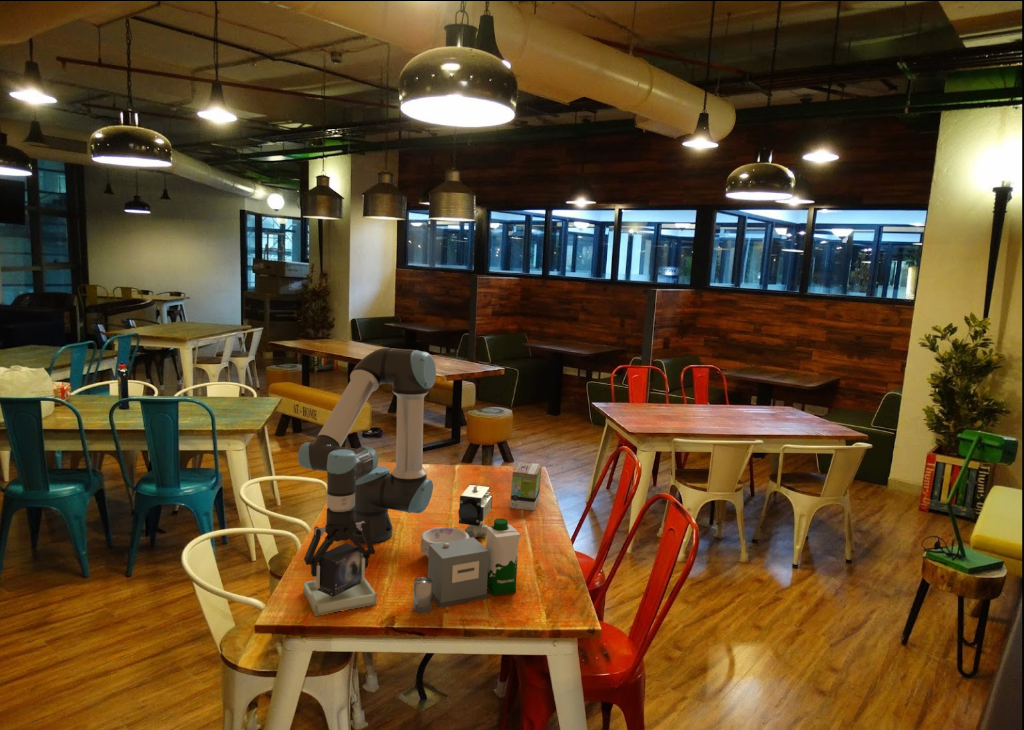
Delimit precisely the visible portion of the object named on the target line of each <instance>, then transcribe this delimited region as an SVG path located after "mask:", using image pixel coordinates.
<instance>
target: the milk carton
mask: <svg viewBox="0 0 1024 730" xmlns="http://www.w3.org/2000/svg"><path fill="white" fill-rule="evenodd" d="M508 523H509V522H508V520H507V519H505V518H496V519H494V520H493V525H490V526H488V527H487V536H486V547H485V548H486V549H487V550H489V557H488V577H487V590H488V591H490V594H491V595H493V597H495V596H502V595H508V594H515V593H517V577H518V576H517V574H518V559H519V558H518V557H519V544H520V539H521V533H519V532H518V530H517V529H516V528H515V527H513V526H512V525H511V524H508Z"/></svg>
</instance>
